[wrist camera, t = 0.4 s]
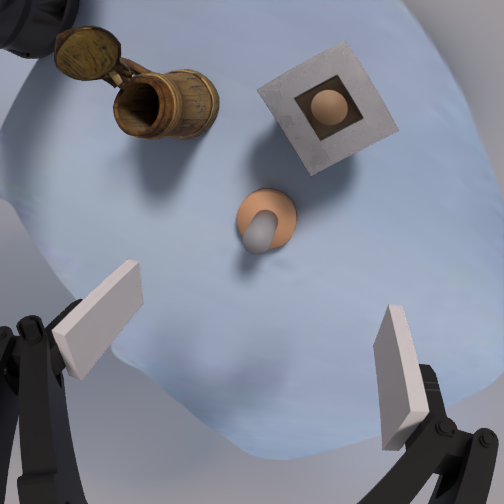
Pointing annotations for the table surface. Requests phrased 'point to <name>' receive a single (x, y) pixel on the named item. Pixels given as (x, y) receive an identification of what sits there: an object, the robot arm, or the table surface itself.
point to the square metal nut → (358, 93)
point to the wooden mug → (139, 86)
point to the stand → (327, 107)
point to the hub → (266, 220)
